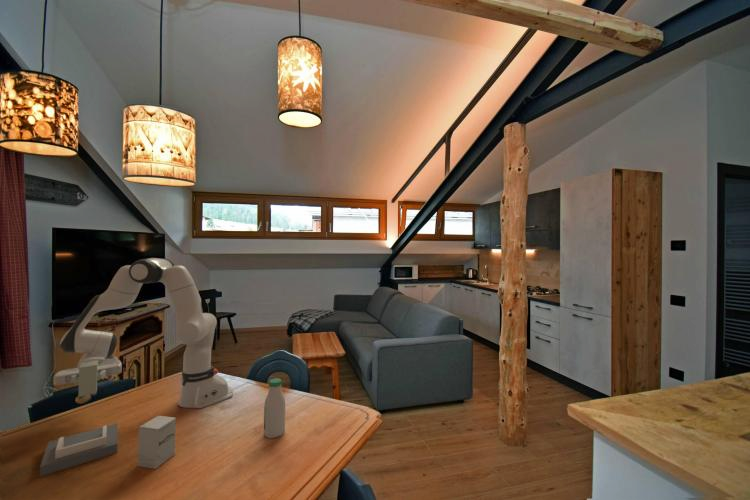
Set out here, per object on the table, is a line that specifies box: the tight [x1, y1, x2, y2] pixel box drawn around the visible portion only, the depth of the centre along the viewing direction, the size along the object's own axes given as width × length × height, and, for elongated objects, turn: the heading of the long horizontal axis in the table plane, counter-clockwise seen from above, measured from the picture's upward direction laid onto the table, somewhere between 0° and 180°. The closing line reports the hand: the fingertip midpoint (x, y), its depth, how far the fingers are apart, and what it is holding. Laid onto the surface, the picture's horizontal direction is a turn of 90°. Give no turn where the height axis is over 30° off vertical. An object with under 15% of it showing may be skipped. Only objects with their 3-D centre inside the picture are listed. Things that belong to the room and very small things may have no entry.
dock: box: [39, 423, 118, 477], centre depth 105 cm, size 18×16×6 cm
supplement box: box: [137, 415, 177, 470], centre depth 101 cm, size 7×7×13 cm
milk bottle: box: [263, 377, 286, 439], centre depth 117 cm, size 8×8×20 cm
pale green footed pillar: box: [77, 361, 98, 400], centre depth 120 cm, size 5×6×12 cm
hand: (88, 378), depth 119 cm, fingers closed on pale green footed pillar, 5 cm apart
